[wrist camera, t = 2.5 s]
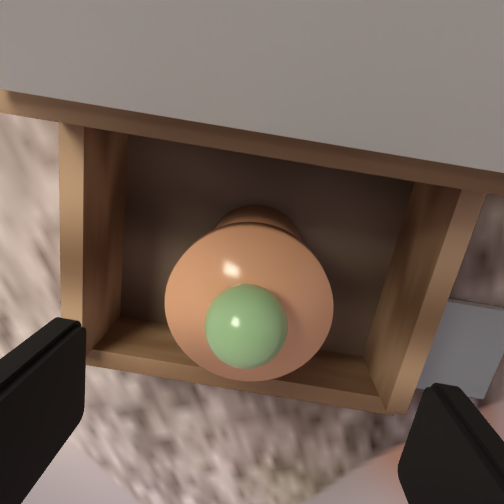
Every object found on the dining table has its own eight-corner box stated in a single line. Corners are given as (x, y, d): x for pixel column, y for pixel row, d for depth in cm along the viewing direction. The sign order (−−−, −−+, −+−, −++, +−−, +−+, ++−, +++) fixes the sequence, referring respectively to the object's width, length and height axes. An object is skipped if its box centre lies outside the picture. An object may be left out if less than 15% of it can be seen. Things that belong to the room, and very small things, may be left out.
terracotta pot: (207, 188, 19) (147, 232, 9) (321, 207, 19) (372, 270, 9) (195, 293, 20) (135, 414, 11) (298, 310, 20) (322, 445, 11)
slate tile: (413, 292, 20) (417, 296, 20) (514, 309, 20) (521, 313, 20) (385, 377, 22) (388, 383, 22) (477, 392, 22) (483, 399, 22)
